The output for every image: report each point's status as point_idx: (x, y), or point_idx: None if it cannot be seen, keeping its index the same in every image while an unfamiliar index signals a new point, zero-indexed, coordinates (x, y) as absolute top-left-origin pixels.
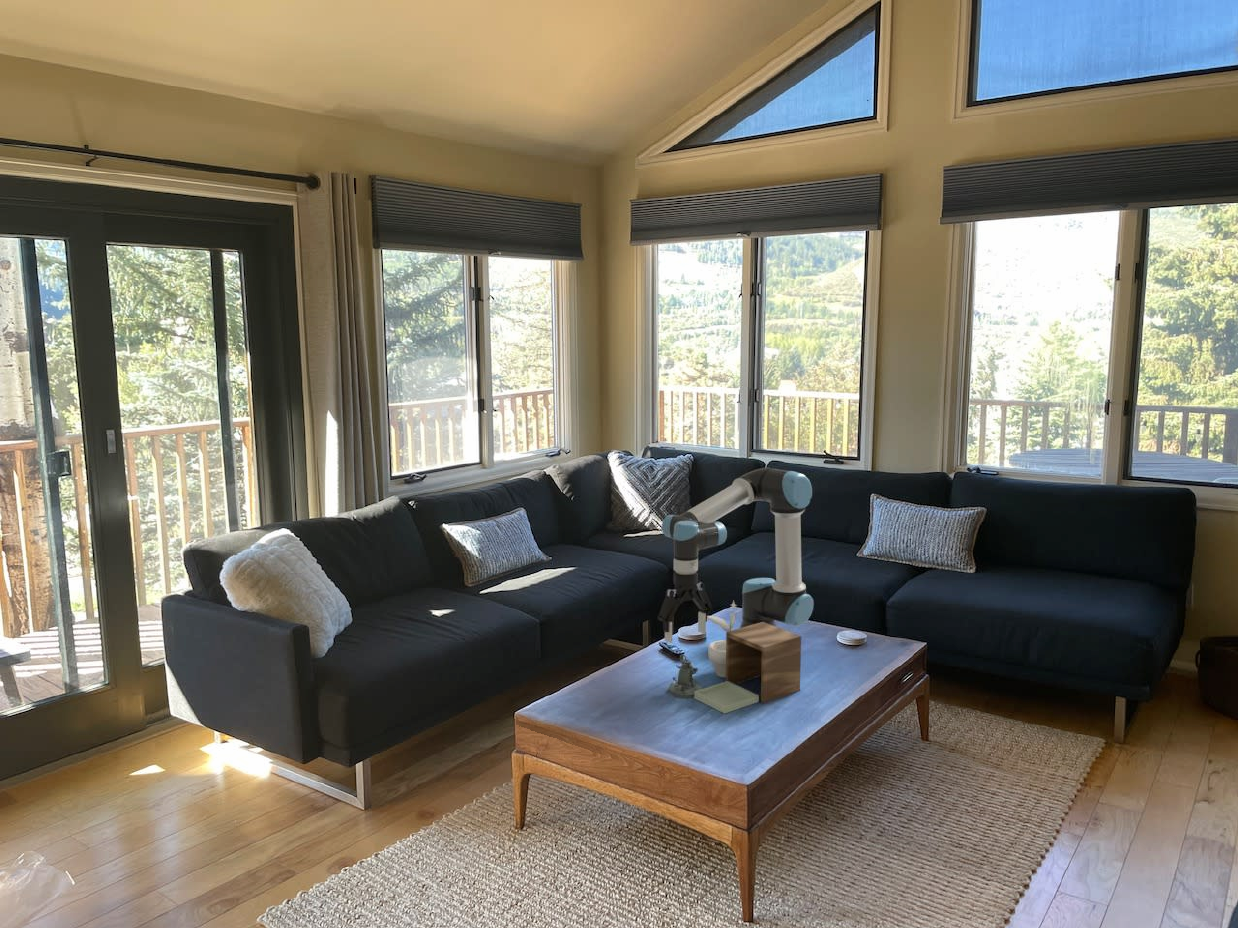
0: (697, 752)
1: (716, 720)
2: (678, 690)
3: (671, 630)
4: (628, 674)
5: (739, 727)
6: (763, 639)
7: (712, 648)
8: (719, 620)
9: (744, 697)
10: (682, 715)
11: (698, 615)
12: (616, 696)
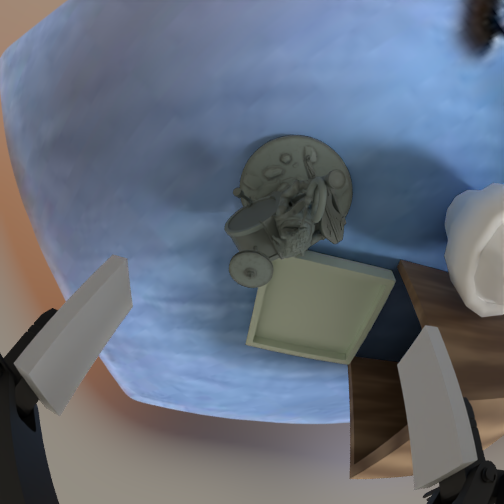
0: (117, 347)
1: (212, 332)
2: (262, 187)
3: (86, 363)
4: None
5: (222, 367)
6: (410, 463)
7: (484, 237)
8: None
9: (339, 337)
10: (172, 272)
11: (455, 433)
12: (122, 73)
